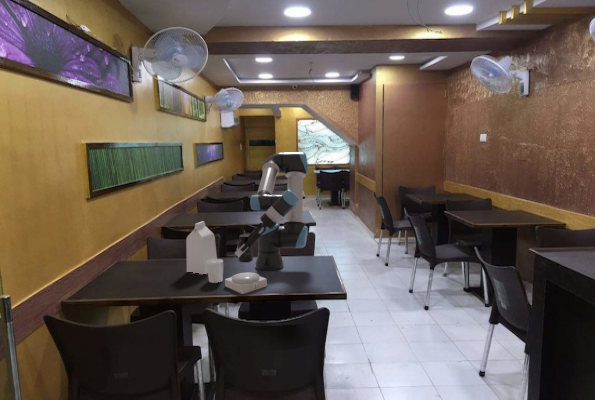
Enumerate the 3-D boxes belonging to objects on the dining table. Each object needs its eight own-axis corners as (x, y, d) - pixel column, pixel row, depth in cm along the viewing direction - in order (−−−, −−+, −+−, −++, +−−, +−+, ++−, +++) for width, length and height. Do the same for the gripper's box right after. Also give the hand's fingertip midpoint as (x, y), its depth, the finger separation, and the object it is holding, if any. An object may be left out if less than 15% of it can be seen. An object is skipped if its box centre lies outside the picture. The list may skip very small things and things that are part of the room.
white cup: (226, 278, 203) (226, 259, 201) (218, 284, 196) (217, 264, 194) (213, 277, 205) (212, 258, 204) (204, 282, 198) (203, 262, 197)
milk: (205, 274, 210) (202, 225, 206) (186, 272, 214) (183, 224, 211) (217, 267, 221) (215, 220, 217) (200, 265, 225) (197, 219, 222)
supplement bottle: (237, 259, 193) (236, 234, 191) (251, 257, 194) (250, 233, 193) (239, 263, 186) (238, 237, 184) (254, 261, 188) (253, 236, 186)
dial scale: (225, 286, 193) (224, 276, 192) (249, 279, 202) (249, 270, 201) (243, 294, 182) (242, 284, 181) (267, 286, 191) (267, 277, 191)
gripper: (277, 227, 179) (241, 264, 180) (277, 219, 198) (245, 252, 200) (264, 216, 178) (229, 253, 179) (266, 208, 197) (233, 242, 199)
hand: (237, 253), depth 190 cm, fingers closed on supplement bottle, 7 cm apart
